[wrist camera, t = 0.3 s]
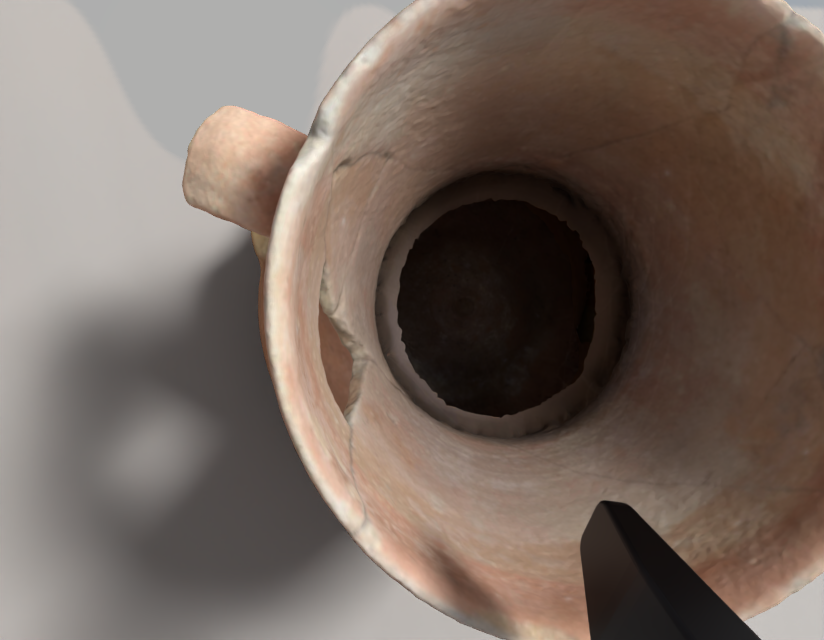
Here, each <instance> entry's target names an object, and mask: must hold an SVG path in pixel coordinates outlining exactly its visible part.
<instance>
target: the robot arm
mask: <svg viewBox="0 0 824 640" xmlns="http://www.w3.org/2000/svg"><path fill="white" fill-rule="evenodd" d="M580 555H581V564H582V572H583V581H584V589H585V598H586V606H587V615H588V623H589V632H590V639H591V640H761V639H760V638H759V637H758V636H757V635H756V634H755V633H754V632H753V631H752V630H751V629H750V628H749V627H748V626H747V625H746V624H745V623H744V622H743V621H742V619H741V618H740V617H739V616H738V615H737V614H736V613H735V612H734V611H733V610H732V609H731V608H730V607H729V606H728V605H727V604H726V603H725V602H724V601H723V600H722V599H721V598H720V597H719V596H718V595H717V594H716V593H715V592H714V591H713V590H712V589H711V588H710V587H709V586H708V585H707V584H706V583H705V582H704V581H703V580H702V579H701V577H700V576H699V575H698V574H697V573H696V572H695V571H694V570H693V569H692V568H691V567H690V566H689V565H688V564H687V563H686V562H685V561H684V560H683V559H682V558H681V557H680V556H679V555H678V554H677V553H676V552H675V551H674V550H673V549H672V548H671V547H670V546H669V545H668V544H667V543H666V542H665V541H664V540H663V539H662V538H661V537H660V535H659V534H658V533H657V532H656V531H655V530H654V529H653V528H652V527H651V526H650V525H649V524H648V523H647V522H646V521H645V520H644V519H643V518H642V517H641V516H640V515H639V514H638V513H637V512H636V511H635V510H634V509H633V508H632V507H631V506H630V505H628V504H626V503H623V502H616V501H608V500H603V501H600V502H599V503H598V504H597V506H596V507H595V509H594V511H593V513H592V516H591V518H590V520H589V522H588V524H587V526H586V528H585V530H584V532H583V534H582V537H581V541H580Z"/></svg>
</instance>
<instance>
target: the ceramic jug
mask: <svg viewBox="0 0 824 640" xmlns="http://www.w3.org/2000/svg"><path fill="white" fill-rule="evenodd" d="M182 187H183V192H184V196H185V199H186V201H187V203H188V204H189V205H191V206H193V207H195V208H198V209H201V210H203V211H206V212H208V213H210V214H212V215H213V216H215V217H218V218H220V219H223V220H226V221H230V222H233V223H235V224H237V225H239V226H241V227H243V228H245V229H247V230H250V231H251V237H252V243H253V246H254V250H255V252H256V255H257V257H258V259H259V262H260V268H261V275H260V282H259V292H258V319H259V330H260V337H261V343H262V348H263V352H264V357H265V361H266V364H267V368H268V371H269V374H270V377H271V380H272V383H273V386H274V390H275V393H276V397H277V401H278V405H279V409H280V412H281V415H282V418H283V421H284V423H285V426H286V428H287V431H288V433H289V436H290V438H291V440H292V442H293V445H294V448H295V450H296V452H297V454H298V456H299V458H300V460H301V462H302V464H303V465H304V467H305V470H306V472H307V474H308V476H309V477H310V479H311V481H312V482H313V484H314V486H315V487H316V489H317V491H318V492H319V494H320V495H321V497H322V498H323V500H324V501H325V503H326V504H327V505H328V507H329V508H330V509H331V511H332V512H333V514H334V515H335V516H336V518H337V519H338V520H339V522H340V523H341V524H342V525H343V527H344V528H345V529H346V530H347V532H348V533H349V535H350V536H351V538H352V539H353V540H354V541H355V542H356V544H357V545H358V546H359V547H360V548H361V549H362V550H363V552H364V553H365V554H366V555H367V556H368V557H369V558H370V559H371V560H372V561H373V562H374V563H375V564H377V565H378V566H379V567H380V568H381V569H382V570H383V571H384V572H385V573H387V574H388V575H389V576H390V577H391V578H393V579H394V580H395V581H397V582H398V583H399V584H401V585H402V586H403V587H404V588H406V589H407V590H408V591H410V592H411V593H412V594H413V595H414V596H415V597H417V598H418V599H420V600H422V601H424V602H426V603H427V604H429V605H430V606H432V607H433V608H435V609H436V610H438V611H440V612H442V613H443V614H445V615H447V616H449V617H451V618H453V619H455V620H456V621H457V622H459V623H461V624H464V625H467V626H470V627H472V628H474V629H477V630H479V631H482V632H484V633H487V634H490V635H493V636H495V637H498V638H500V639H506V640H591V639H590V632H589V623H588V615H587V606H586V598H585V589H584V581H583V572H582V564H581V555H580V541H581V537H582V534H583V532H584V530H585V528H586V526H587V524H588V522H589V520H590V518H591V516H592V513H593V511H594V509H595V507H596V506H597V504H598V503H599V502H600V501H603V500H608V501H616V502H623V503H626V504H628V505H630V506H631V507H632V508H633V509H634V510H635V511H636V512H637V513H638V514H639V515H640V516H641V517H642V518H643V519H644V520H645V521H646V522H647V523H648V524H649V525H650V526H651V527H652V528H653V529H654V530H655V531H656V532H657V533H658V534H659V535H660V537H661V538H662V539H663V540H664V541H665V542H666V543H667V544H668V545H669V546H670V547H671V548H672V549H673V550H674V551H675V552H676V553H677V554H678V555H679V556H680V557H681V558H682V559H683V560H684V561H685V562H686V563H687V564H688V565H689V566H690V567H691V568H692V569H693V570H694V571H695V572H696V573H697V574H698V575H699V576H700V577H701V579H702V580H703V581H704V582H705V583H706V584H707V585H708V586H709V587H710V588H711V589H712V590H713V591H714V592H715V593H716V594H717V595H718V596H719V597H720V598H721V599H722V600H723V601H724V602H725V603H726V604H727V605H728V606H729V607H730V608H731V609H732V610H733V611H734V612H735V613H736V614H737V615H738V616H739V617H740V618H741V619H742V621H745V620H747V619H749V618H752V617H754V616H756V615H758V614H760V613H762V612H765V611H767V610H768V609H770V608H772V607H774V606H776V605H778V604H779V603H781V602H782V601H783V600H784V599H785V598H787V597H788V596H789V595H791V594H793V593H795V592H798V591H799V590H801V589H802V588H803V587H804V586H805V585H807V584H808V583H810V582H812V581H813V580H814V579H815V578H816V577H818V576H819V575H820V574H822V573H823V572H824V34H823V33H822V32H821V31H820V29H819V28H817V27H816V26H814V25H813V24H812V23H810V22H809V21H808V20H807V19H806V18H805V17H803V16H801V15H799V14H797V13H796V12H794V11H793V10H792V9H791V7H790V6H789V5H788V3H786V2H785V1H783V0H415V1H414V2H413V3H411V4H410V5H409V6H407V7H406V8H404V9H403V10H402V11H401V12H400V13H398V14H397V15H396V16H395V17H394V18H393V19H392V20H391V21H390V22H388V23H387V24H386V25H385V26H384V27H383V28H382V29H381V30H380V31H379V32H377V33H376V34H375V35H374V36H373V37H372V38H371V39H370V40H369V41H368V42H367V43H366V45H365V46H364V47H363V48H362V49H361V51H360V52H359V53H358V54H357V55H356V56H355V58H354V59H353V60H352V61H351V62H350V63H349V64H348V66H347V67H346V68H345V70H344V71H343V72H342V74H341V75H340V76H339V78H338V79H337V81H336V82H335V83H334V85H333V86H332V88H331V89H330V91H329V92H328V94H327V95H326V96H325V98H324V99H323V101H322V103H321V104H320V106H319V108H318V111H317V114H316V116H315V119H314V121H313V123H312V126H311V129H310V132H309V134H308V136H307V135H305V134H303V133H301V132H299V131H297V130H295V129H293V128H291V127H289V126H286V125H285V124H283V123H282V122H279V121H277V120H275V119H272V118H269V117H265V116H260V115H258V114H256V113H254V112H252V111H249V110H246V109H243V108H240V107H236V106H223V107H221V108H220V109H218V110H217V111H216V112H215V113H214V114H212V115H211V116H209V117H208V118H207V119H206V120H205V121H204V122H203V123H202V125H201V126H200V127H199V128H198V129H197V131H196V133H195V135H194V137H193V138H192V140H191V142H190V144H189V146H188V157H187V160H186V165H185V171H184V177H183V183H182Z"/></svg>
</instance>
